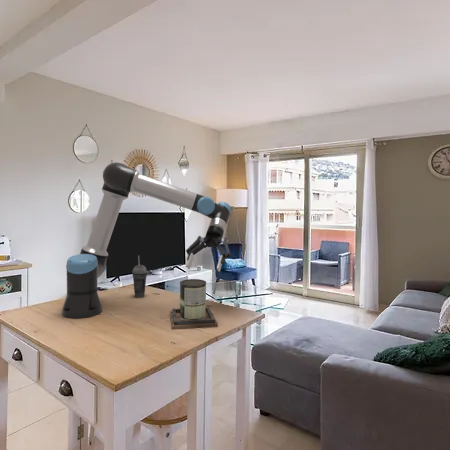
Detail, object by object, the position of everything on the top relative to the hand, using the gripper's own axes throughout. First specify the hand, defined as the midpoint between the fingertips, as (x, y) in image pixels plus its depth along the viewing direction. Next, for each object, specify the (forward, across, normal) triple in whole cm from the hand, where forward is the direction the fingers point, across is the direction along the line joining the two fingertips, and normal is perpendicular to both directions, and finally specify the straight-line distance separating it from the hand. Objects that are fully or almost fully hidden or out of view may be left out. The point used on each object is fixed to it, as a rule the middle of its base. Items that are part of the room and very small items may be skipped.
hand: (202, 268), depth 141 cm
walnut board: (+20, 0, -7) cm, 21 cm away
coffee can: (+19, 0, -6) cm, 20 cm away
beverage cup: (+5, +38, -22) cm, 45 cm away
